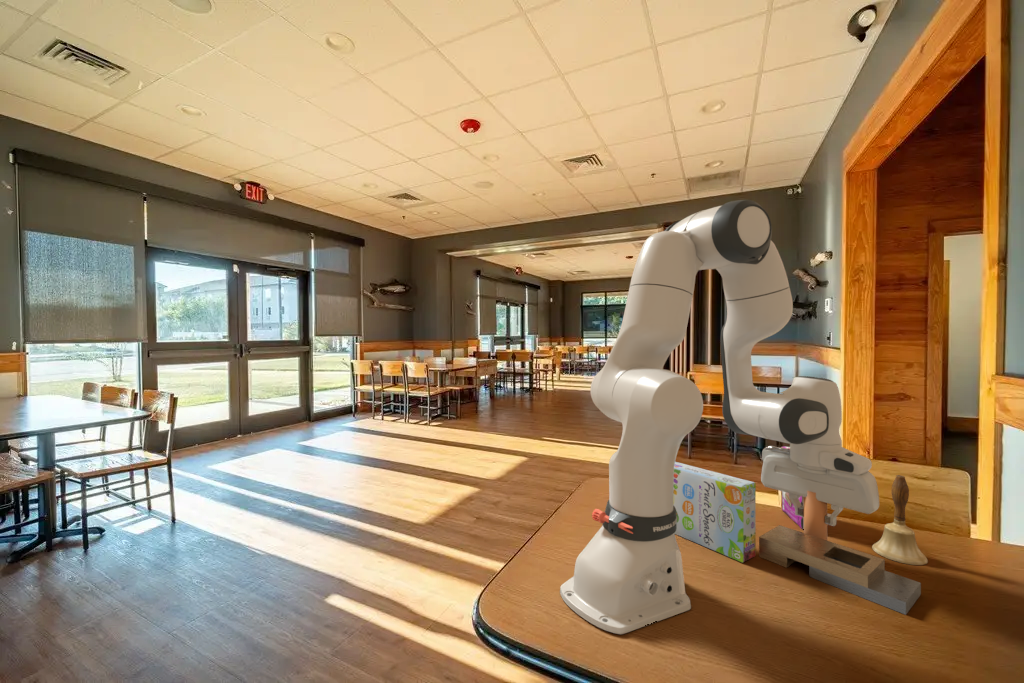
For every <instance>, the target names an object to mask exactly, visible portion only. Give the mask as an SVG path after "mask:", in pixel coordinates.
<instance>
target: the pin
mask: <svg viewBox="0 0 1024 683" xmlns="http://www.w3.org/2000/svg"><path fill="white" fill-rule="evenodd" d="M827 514H828V503H825V502H821V501H818V500H817V498H816V493H814V492H811V491H807V497H804V530H803V533H805V534H808V535H812V536H815V537H818V538H821V539H824V540H827V541H828V524H825V515H827Z"/></svg>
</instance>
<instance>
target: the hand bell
mask: <svg viewBox="0 0 1024 683" xmlns="http://www.w3.org/2000/svg"><path fill="white" fill-rule="evenodd" d="M909 497H910V489H909V486H908V482H907V480H906V477H905V476H904V475H900V474H897V475H895V478H894V481H893V483H892V485H891V498H892V501H893V503H894V514H893V522H890V523H886V524H884V528H883V533H882V536H881V538H880V539H879V540H878V541H877V542H874V543H873V544H872V546H871V549H872V550H873V551H874V552H875V553H876V554H878V555H879V556H882V557H884V558H886V559H887V560H891V561H894V562H896V563H902V564H905V565H911V566H923V565H927V564H928V563H929V560H928V558H927V556H926V555H925V554H924V553H923V552H922V551H921V549H920V548H919V545H918V544H917V540H916V536H915V531H914V530H913V529H912V528H911V527H909V526H907V525H906V506H907V504H908V502H909Z"/></svg>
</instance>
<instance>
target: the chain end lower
mask: <svg viewBox="0 0 1024 683" xmlns="http://www.w3.org/2000/svg"><path fill="white" fill-rule="evenodd" d="M832 559H834V560H837V561H840V562H843V563H845V564H848V565H851V566H854V567H857V568H861V566H858V565H855V564H852V563H850V562H847V561H844V560H841V559H838V558H835V557H834V558H832ZM808 566H809V565H808ZM808 568H809V570H808V571H809V574H808V575H809V576H808V577H809V578H812V579H814V580H817V581H818V582H819V581H820V582H822V583H824V584H827V585H830V586H833V587H834V588H837V589H839V590H841V591H845V592H847V593H850V594H852V595H855V596H857V597H860V598H862V599H865V600H866V601H867V600H868V601H870V602H872V603H875V604H878V605H879V606H883V607H885V608H888V609H890V610H892V611H895V612H898V613H899V614H900V613H901V614H903V615H905V616H907V614H908V613H909V611H911V609H912V608H913V606H914V605H915V603H916V602H917V600H918V599H919V598H920V596H921V595H922V583H921V582H919V581H916V580H914V579H911V578H908V577H904V576H902V575H899V574H895V573H893V572H890V571H887V570H885V571H884V572H883V573H882V574H881V575H880V576H879V577H878V578H877V579H876V580H875V581H874V582H873V583H872V584H871V585H870V586H869V587H868V588H867V587H864V586H861V585H859V584H856V583H853V582H851V581H848V580H845V579H843V578H840V577H838V576H835V575H832V574H830V573H827V572H824V571H822V570H819V569H816V568H814V567H811V566H809V567H808Z"/></svg>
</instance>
